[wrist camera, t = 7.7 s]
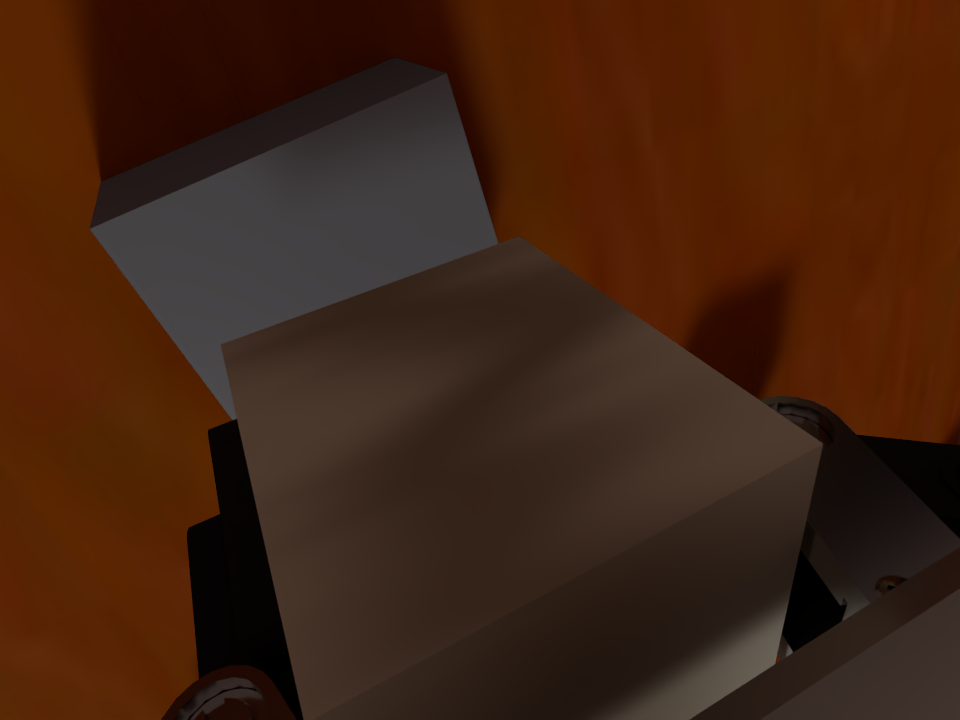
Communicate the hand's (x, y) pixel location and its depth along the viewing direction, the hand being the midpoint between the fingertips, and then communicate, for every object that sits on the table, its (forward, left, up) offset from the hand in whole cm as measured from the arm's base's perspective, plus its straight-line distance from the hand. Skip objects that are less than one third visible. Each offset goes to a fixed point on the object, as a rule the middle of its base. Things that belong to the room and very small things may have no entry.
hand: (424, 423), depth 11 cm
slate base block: (0, 0, -10) cm, 10 cm away
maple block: (0, 0, -1) cm, 1 cm away
